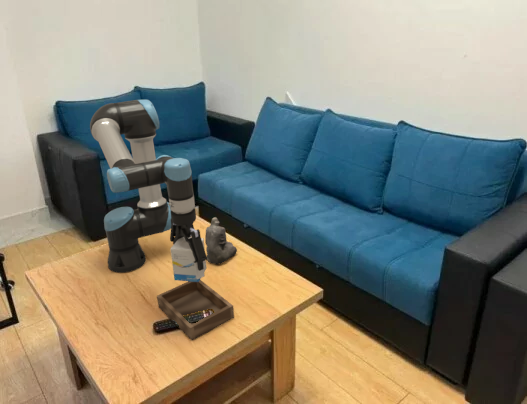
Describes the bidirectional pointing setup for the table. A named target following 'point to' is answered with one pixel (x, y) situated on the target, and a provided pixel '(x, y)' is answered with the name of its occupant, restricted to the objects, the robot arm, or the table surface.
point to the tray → (195, 307)
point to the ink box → (184, 261)
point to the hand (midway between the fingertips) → (190, 269)
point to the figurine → (218, 244)
